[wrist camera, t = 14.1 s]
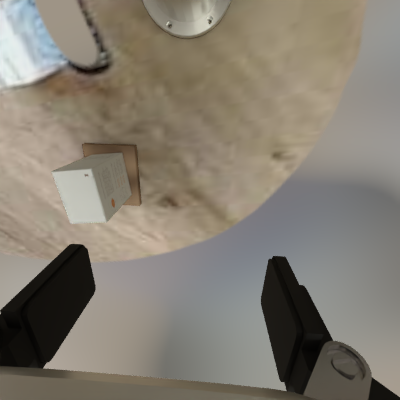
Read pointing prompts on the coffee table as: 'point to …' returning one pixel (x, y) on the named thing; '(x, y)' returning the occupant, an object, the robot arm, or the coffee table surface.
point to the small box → (93, 187)
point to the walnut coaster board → (130, 164)
